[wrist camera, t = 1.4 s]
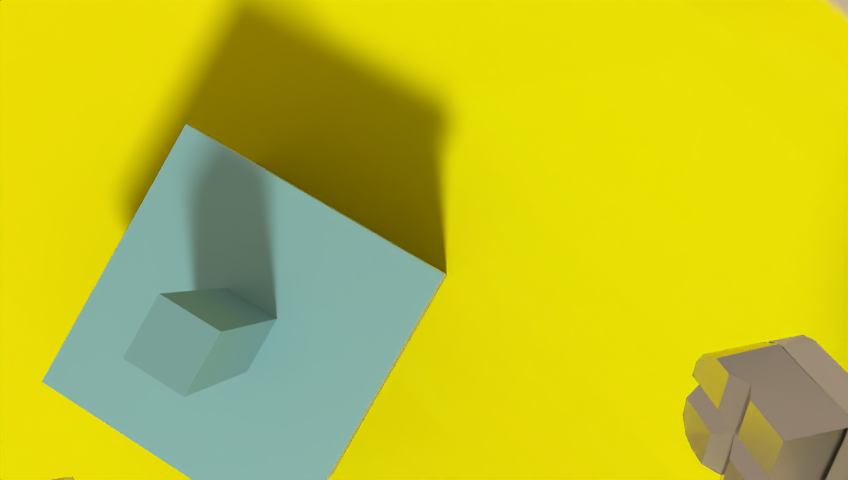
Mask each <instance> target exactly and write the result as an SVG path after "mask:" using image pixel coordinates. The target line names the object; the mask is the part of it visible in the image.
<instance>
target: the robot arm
mask: <svg viewBox="0 0 848 480" xmlns="http://www.w3.org/2000/svg"><path fill="white" fill-rule="evenodd" d="M693 377H694V378H695V379H696V381H697V382H698V383H699V386H698V387H697V388H696V389H695V390H694V391H693V392H692V393H691V394H690V395H689V396H688V397H687V398H686V402H685V407H684V412H683V420H684V426H685V433H686V436H687V438H688V441H689V443H690V446H691V448H692V450H693V451H694V453H695V454H696V456H697V458H698V459H699V461H700V462H701V464H702V465H704V466H706V467H708V468H709V469H711V470H713V471H715V472H716V473H718V474H720V475H721V480H848V373H847V372H846V371H845V370H844V369H843V368H842V367H841V366H840V365H839V364H838V363H837V362H836V361H835V360H834V359H833V358H832V357H831V356H830V355H829V354H828V353H827V352H826V351H825V350H824V349H823V348H822V347H821V346H820V345H819V344H818V343H817V342H816V341H814V340H813V339H811V338H809V337H807V336H805V335H800V336H795V337H790V338H785V339H779V340H774V341H770V342H762V343H757V344H752V345H747V346H742V347H737V348H732V349H727V350H723V351H718V352H713V353H708V354H703V355H702V356H701V357H700V358H699V360H698V361H697V362H696V365H695V368H694V372H693ZM53 480H74V478H73V477H65V478H59V479H53Z"/></svg>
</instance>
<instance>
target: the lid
mask: <svg viewBox="0 0 848 480" xmlns="http://www.w3.org/2000/svg"><path fill="white" fill-rule="evenodd" d="M445 275H446V274H445V273H444V272H442V271H440V270H439V269H437V268H435V267H433V266H432V265H430V264H428V263H427V262H425V261H423V260H421V259H420V258H418V257H416V256H415V255H413V254H411V253H409V252H408V251H406V250H404V249H402V248H401V247H399V246H397V245H396V244H394V243H392V242H390V241H389V240H387V239H385V238H384V237H382V236H380V235H378V234H377V233H375V232H373V231H372V230H370V229H368V228H366V227H365V226H363V225H361V224H359V223H358V222H356V221H354V220H353V219H351V218H349V217H347V216H346V215H344V214H342V213H341V212H339V211H337V210H335V209H334V208H332V207H330V206H329V205H327V204H325V203H323V202H322V201H320V200H318V199H317V198H315V197H313V196H311V195H310V194H308V193H306V192H304V191H303V190H301V189H299V188H298V187H296V186H294V185H292V184H291V183H289V182H287V181H286V180H284V179H282V178H280V177H279V176H277V175H275V174H274V173H272V172H270V171H268V170H267V169H265V168H263V167H261V166H260V165H258V164H256V163H255V162H253V161H251V160H249V159H248V158H246V157H244V156H243V155H241V154H239V153H237V152H236V151H234V150H232V149H231V148H229V147H227V146H225V145H224V144H222V143H220V142H218V141H217V140H215V139H213V138H212V137H210V136H208V135H206V134H205V133H203V132H201V131H200V130H198V129H196V128H194V127H192V126H189V125H187V124H185V126H184V128H183V130H182V132H181V133H180V135H179V137H178V139H177V141H176V142H175V144H174V146H173V148H172V150H171V151H170V153H169V155H168V157H167V159H166V160H165V162H164V164H163V166H162V167H161V169H160V171H159V173H158V175H157V176H156V178H155V180H154V182H153V184H152V185H151V187H150V189H149V191H148V193H147V194H146V196H145V198H144V200H143V202H142V203H141V205H140V207H139V209H138V211H137V212H136V214H135V216H134V218H133V219H132V221H131V223H130V225H129V227H128V228H127V230H126V232H125V234H124V236H123V237H122V239H121V241H120V243H119V245H118V246H117V248H116V250H115V252H114V254H113V255H112V257H111V259H110V261H109V262H108V264H107V266H106V268H105V270H104V271H103V273H102V275H101V277H100V279H99V280H98V282H97V284H96V286H95V288H94V289H93V291H92V293H91V295H90V297H89V298H88V300H87V302H86V304H85V306H84V307H83V309H82V311H81V313H80V314H79V316H78V318H77V320H76V322H75V323H74V325H73V327H72V329H71V331H70V332H69V334H68V336H67V338H66V340H65V341H64V343H63V345H62V347H61V349H60V350H59V352H58V354H57V356H56V357H55V359H54V361H53V363H52V365H51V366H50V368H49V370H48V372H47V374H46V375H45V377H44V379H43V381H42V382H43V383H45V384H46V385H48V386H50V387H51V388H53V389H54V390H56V391H57V392H59V393H60V394H62V395H63V396H65V397H66V398H68V399H69V400H71V401H73V402H74V403H76V404H77V405H79V406H80V407H82V408H83V409H85V410H86V411H88V412H89V413H91V414H93V415H94V416H96V417H97V418H99V419H100V420H102V421H103V422H105V423H106V424H108V425H109V426H111V427H113V428H114V429H116V430H117V431H119V432H120V433H122V434H123V435H125V436H126V437H128V438H129V439H131V440H132V441H134V442H136V443H137V444H139V445H140V446H142V447H143V448H145V449H146V450H148V451H149V452H151V453H152V454H154V455H156V456H157V457H159V458H160V459H162V460H163V461H165V462H166V463H168V464H169V465H171V466H172V467H174V468H176V469H177V470H179V471H180V472H182V473H183V474H185V475H186V476H188V477H189V478H191V479H192V480H328V478H329V477H330V475H331V473H332V472H333V470H334V468H335V466H336V465H337V463H338V461H339V459H340V458H341V456H342V454H343V452H344V451H345V449H346V447H347V445H348V444H349V442H350V440H351V438H352V437H353V435H354V433H355V431H356V430H357V428H358V426H359V425H360V423H361V421H362V419H363V418H364V416H365V414H366V412H367V411H368V409H369V407H370V405H371V404H372V402H373V400H374V398H375V397H376V395H377V393H378V391H379V390H380V388H381V386H382V385H383V383H384V381H385V379H386V378H387V376H388V374H389V372H390V371H391V369H392V367H393V365H394V364H395V362H396V360H397V358H398V357H399V355H400V353H401V351H402V350H403V348H404V346H405V344H406V343H407V341H408V339H409V338H410V336H411V334H412V332H413V331H414V329H415V327H416V325H417V324H418V322H419V320H420V318H421V317H422V315H423V313H424V311H425V310H426V308H427V306H428V304H429V303H430V301H431V299H432V298H433V296H434V294H435V292H436V291H437V289H438V287H439V285H440V284H441V282H442V280H443V278H444V277H445Z"/></svg>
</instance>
